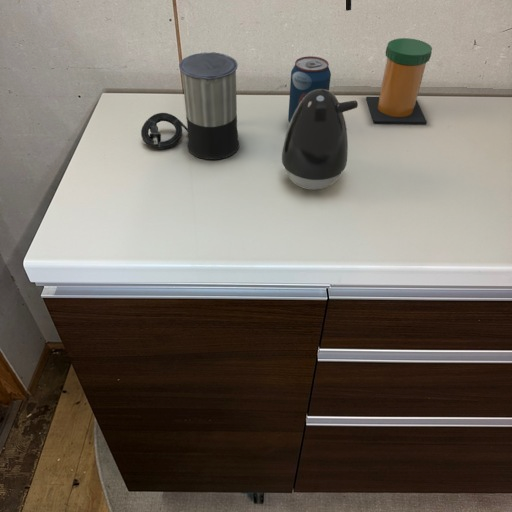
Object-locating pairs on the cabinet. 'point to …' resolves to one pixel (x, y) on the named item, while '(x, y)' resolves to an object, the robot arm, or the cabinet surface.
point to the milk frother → (203, 108)
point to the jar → (400, 88)
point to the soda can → (307, 79)
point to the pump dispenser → (317, 140)
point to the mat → (381, 118)
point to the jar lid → (408, 51)
